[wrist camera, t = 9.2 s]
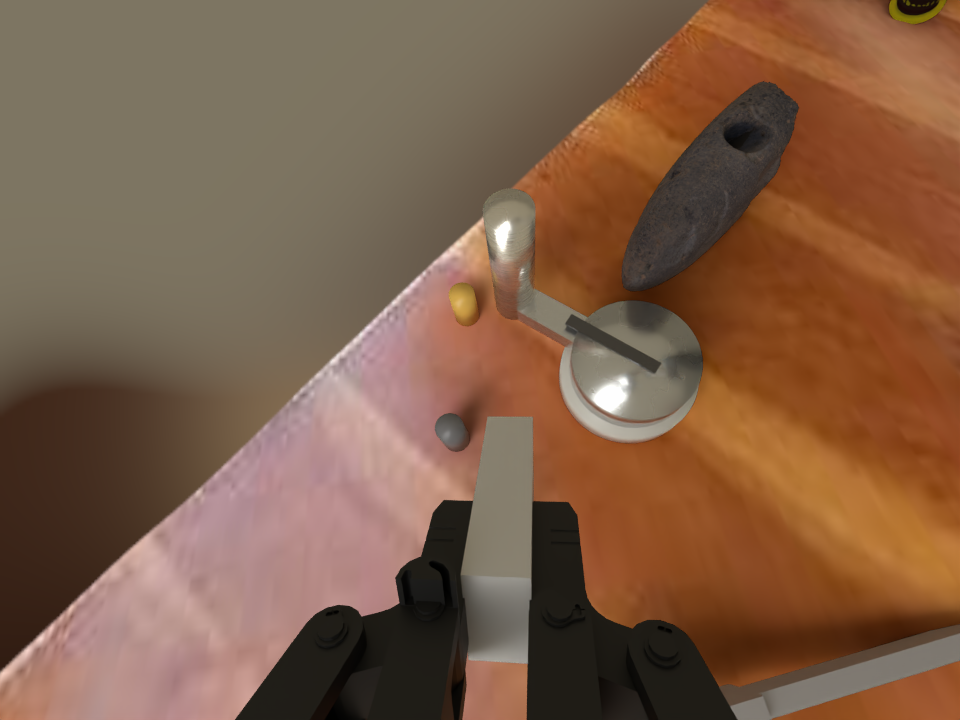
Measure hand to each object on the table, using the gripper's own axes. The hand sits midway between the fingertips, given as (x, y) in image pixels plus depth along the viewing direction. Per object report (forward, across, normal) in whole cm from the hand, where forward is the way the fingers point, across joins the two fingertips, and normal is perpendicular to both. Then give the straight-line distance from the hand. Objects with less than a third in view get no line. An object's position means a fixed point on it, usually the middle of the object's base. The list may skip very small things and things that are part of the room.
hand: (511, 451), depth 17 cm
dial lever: (+14, +4, -2) cm, 15 cm away
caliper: (+4, +13, -16) cm, 21 cm away
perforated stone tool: (+22, +11, +3) cm, 25 cm away
